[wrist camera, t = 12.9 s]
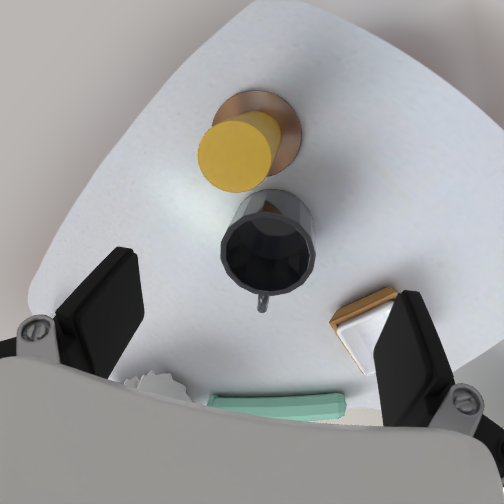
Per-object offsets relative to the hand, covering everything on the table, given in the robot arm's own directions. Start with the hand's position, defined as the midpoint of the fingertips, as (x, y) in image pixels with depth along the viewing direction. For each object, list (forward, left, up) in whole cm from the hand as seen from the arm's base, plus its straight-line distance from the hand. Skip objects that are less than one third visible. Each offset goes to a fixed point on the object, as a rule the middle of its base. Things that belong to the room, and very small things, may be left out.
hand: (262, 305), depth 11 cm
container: (+19, +39, -27) cm, 51 cm away
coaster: (+3, -4, -27) cm, 27 cm away
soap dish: (-2, +27, -27) cm, 38 cm away
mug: (+6, +9, -27) cm, 29 cm away
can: (+3, -3, -26) cm, 27 cm away
